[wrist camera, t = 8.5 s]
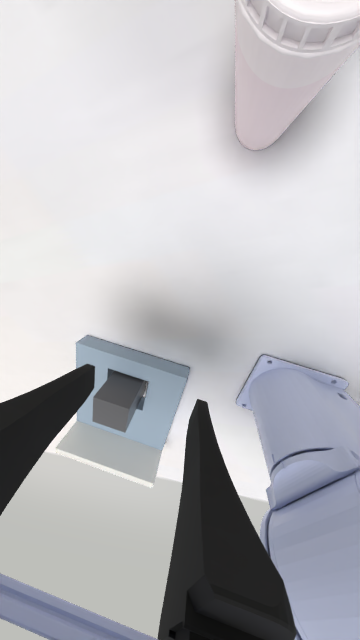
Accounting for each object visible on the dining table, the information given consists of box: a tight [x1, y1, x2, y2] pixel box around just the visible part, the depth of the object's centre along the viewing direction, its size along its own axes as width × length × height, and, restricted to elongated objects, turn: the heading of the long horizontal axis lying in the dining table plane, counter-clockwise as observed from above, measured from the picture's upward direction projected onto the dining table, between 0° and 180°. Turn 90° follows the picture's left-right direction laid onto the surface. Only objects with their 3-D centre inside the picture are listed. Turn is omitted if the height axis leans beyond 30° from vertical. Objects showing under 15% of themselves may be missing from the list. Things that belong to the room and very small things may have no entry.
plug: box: [92, 371, 147, 433], centre depth 21 cm, size 4×4×6 cm
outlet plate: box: [56, 335, 189, 488], centre depth 22 cm, size 14×16×6 cm
